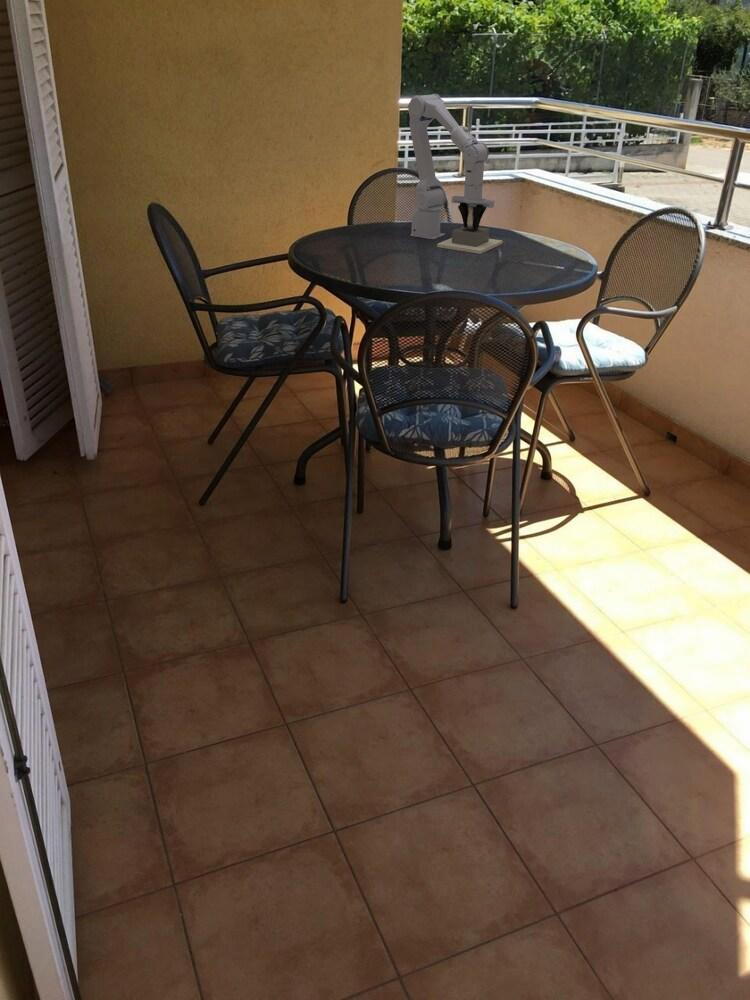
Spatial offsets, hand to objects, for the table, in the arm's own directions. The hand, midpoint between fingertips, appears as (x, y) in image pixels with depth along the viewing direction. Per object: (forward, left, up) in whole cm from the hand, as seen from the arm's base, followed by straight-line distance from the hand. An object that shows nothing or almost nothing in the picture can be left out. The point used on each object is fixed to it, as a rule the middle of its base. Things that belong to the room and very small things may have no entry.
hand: (471, 227), depth 272 cm
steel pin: (0, 0, -3) cm, 3 cm away
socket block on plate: (0, 0, -6) cm, 6 cm away
